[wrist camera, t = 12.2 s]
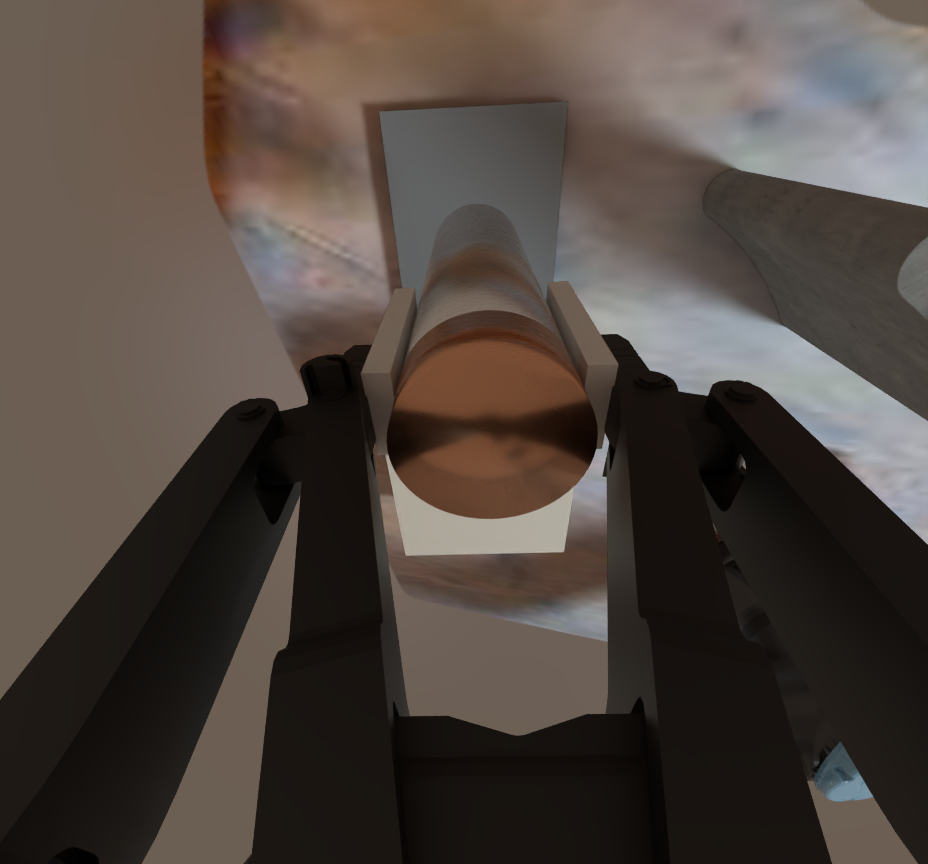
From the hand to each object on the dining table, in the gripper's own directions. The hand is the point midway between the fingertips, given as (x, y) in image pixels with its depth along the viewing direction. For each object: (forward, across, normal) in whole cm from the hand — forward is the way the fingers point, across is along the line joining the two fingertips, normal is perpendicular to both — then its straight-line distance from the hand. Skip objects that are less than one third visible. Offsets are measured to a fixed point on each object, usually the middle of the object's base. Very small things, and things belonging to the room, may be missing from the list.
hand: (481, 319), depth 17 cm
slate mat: (+19, 0, 0) cm, 19 cm away
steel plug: (+10, 0, 0) cm, 10 cm away
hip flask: (+19, -23, +3) cm, 30 cm away
